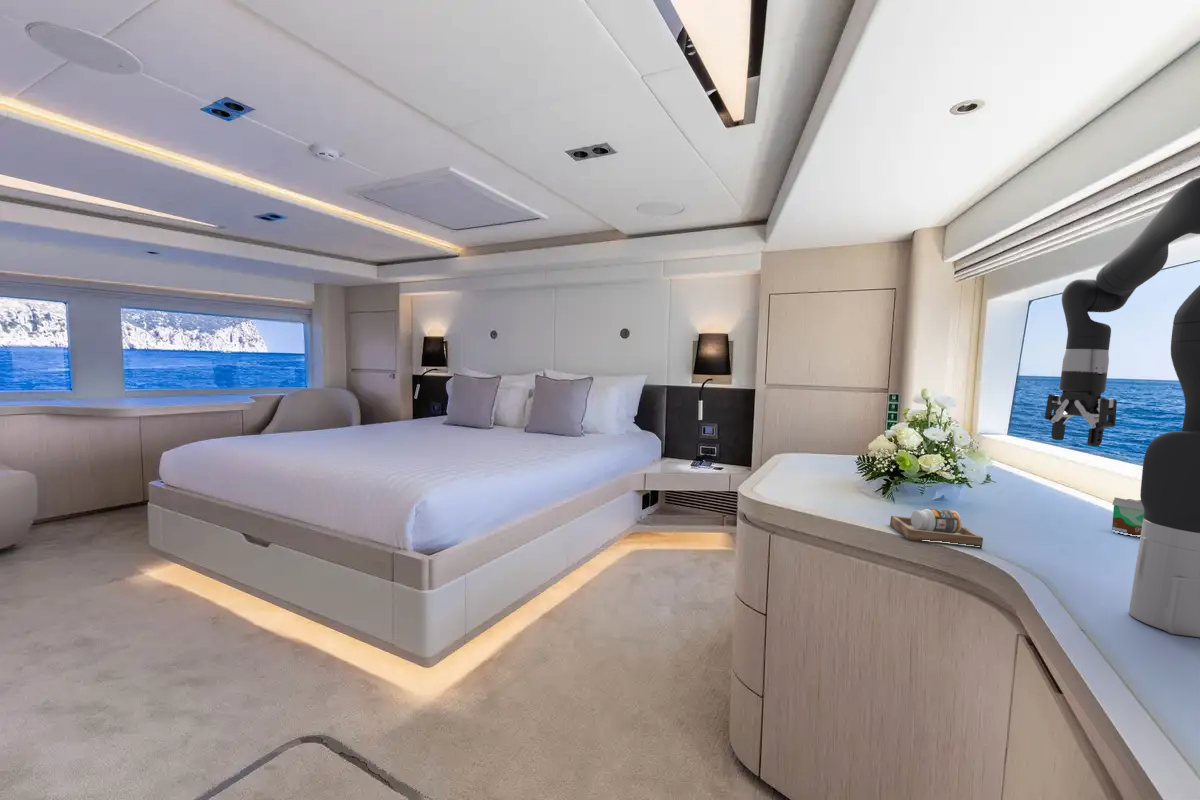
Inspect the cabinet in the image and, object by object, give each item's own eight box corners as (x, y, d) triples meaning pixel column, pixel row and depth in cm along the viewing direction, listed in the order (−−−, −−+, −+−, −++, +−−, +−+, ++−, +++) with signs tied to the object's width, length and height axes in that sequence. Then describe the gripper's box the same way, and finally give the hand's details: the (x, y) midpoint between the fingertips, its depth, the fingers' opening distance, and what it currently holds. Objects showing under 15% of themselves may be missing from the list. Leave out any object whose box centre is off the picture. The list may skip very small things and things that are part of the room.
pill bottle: (963, 512, 129) (924, 510, 129) (962, 536, 129) (923, 533, 129) (947, 508, 135) (909, 506, 135) (946, 530, 135) (908, 528, 135)
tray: (981, 548, 124) (983, 537, 124) (909, 540, 127) (910, 529, 126) (955, 532, 136) (957, 522, 136) (890, 524, 138) (891, 515, 138)
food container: (1135, 540, 140) (1141, 503, 139) (1108, 532, 146) (1113, 497, 145) (1166, 538, 143) (1172, 503, 143) (1138, 531, 149) (1143, 497, 148)
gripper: (1039, 369, 123) (1031, 437, 124) (1099, 369, 109) (1089, 446, 110) (1070, 371, 124) (1062, 439, 125) (1134, 372, 109) (1123, 449, 111)
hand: (1074, 442), depth 118 cm, fingers open, 8 cm apart
